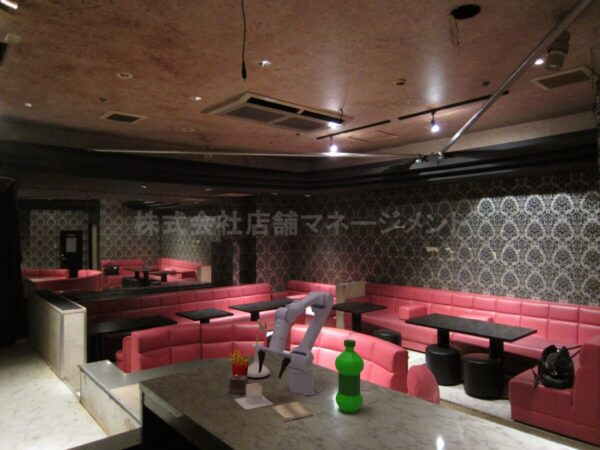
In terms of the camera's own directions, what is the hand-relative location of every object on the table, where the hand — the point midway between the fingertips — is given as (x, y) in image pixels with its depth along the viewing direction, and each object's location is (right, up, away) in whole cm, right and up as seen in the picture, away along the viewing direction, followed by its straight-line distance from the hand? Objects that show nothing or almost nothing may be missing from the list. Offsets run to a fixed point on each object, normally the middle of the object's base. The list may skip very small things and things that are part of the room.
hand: (269, 375), depth 156 cm
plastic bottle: (+29, -12, -2) cm, 32 cm away
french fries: (-15, -12, +20) cm, 28 cm away
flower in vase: (-8, -13, +36) cm, 40 cm away
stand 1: (-6, -11, +1) cm, 13 cm away
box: (-13, -12, +11) cm, 21 cm away
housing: (-6, -10, +1) cm, 12 cm away
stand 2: (+8, -11, -6) cm, 15 cm away
